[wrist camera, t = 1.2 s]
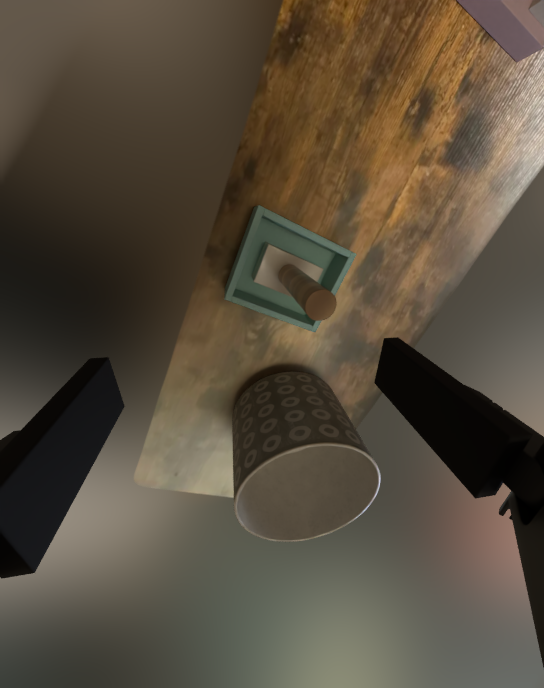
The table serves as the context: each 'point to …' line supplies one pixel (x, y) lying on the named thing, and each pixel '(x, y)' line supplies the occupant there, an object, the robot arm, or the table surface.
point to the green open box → (294, 241)
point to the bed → (511, 23)
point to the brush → (294, 281)
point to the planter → (298, 460)
